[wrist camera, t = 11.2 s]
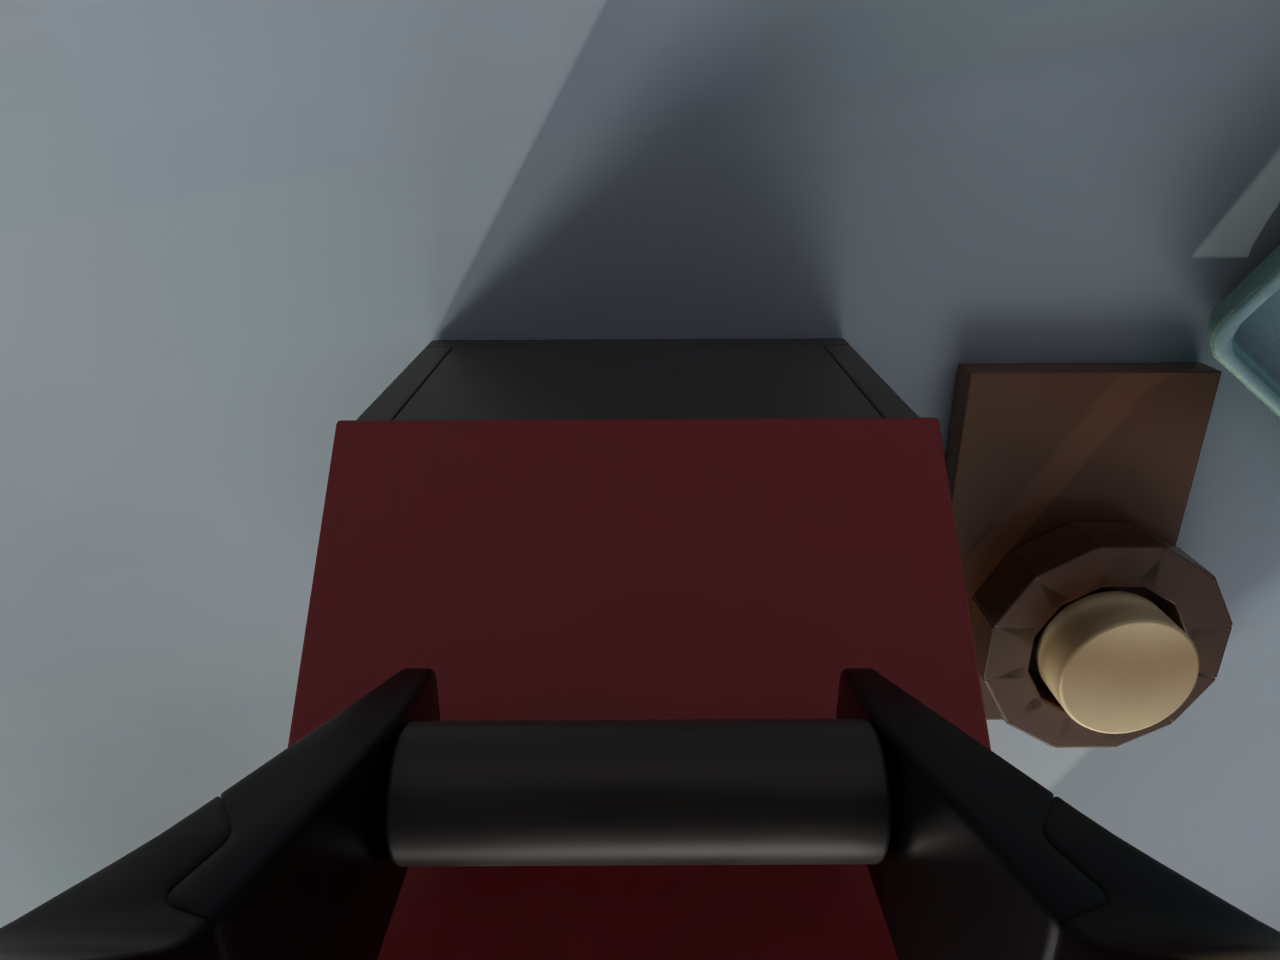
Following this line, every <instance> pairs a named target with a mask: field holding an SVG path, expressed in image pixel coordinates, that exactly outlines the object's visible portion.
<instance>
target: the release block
mask: <svg viewBox="0 0 1280 960" xmlns="http://www.w3.org/2000/svg"><path fill="white" fill-rule="evenodd" d="M1220 375H1221V371H1219V370H1216V369H1214V368H1212V367H1209V366H1207V365H1205V364H1202V363H1056V364H959V367H958V374H957V381H956V388H955V395H954V402H953V409H952V416H951V423H950V430H949V437H948V444H947V451H946V458H945V463H946V469H947V476H948V482H949V488H950V495H951V501H952V507H953V514H954V520H955V526H956V533H957V539H958V545H959V552H960V558H961V564H962V571H963V577H964V583H965V589H966V596H967V602H968V608H969V615H970V621H971V627H972V634H973V640H974V646H975V653H976V659H977V665H978V672H979V678H980V684H981V691H982V697H983V703H984V710H985V716H986V720H1004V721H1006V723H1007V724H1009V725H1011V726H1012V727H1014V728H1016V729H1018V730H1020V731H1022V732H1024V733H1026V734H1028V735H1030V736H1032V737H1034V738H1036V739H1038V740H1040V741H1042V742H1044V743H1046V744H1048V745H1050V746H1052V747H1053V746H1054V747H1056V748H1070V747H1117V746H1119V745H1121V744H1124V743H1126V742H1129V741H1131V740H1133V739H1136V738H1138V737H1140V736H1143V735H1145V734H1148V733H1150V732H1152V731H1155V730H1157V729H1160V728H1162V727H1164V726H1167V725H1169V724H1171V723H1172V722H1173V721H1175V720H1176V719H1177V718H1178V717H1179V716H1180V715H1181V714H1182V713H1183V712H1184V711H1185V710H1186V709H1187V708H1188V707H1189V706H1190V705H1191V704H1192V703H1193V702H1194V701H1195V700H1196V699H1197V698H1198V697H1199V696H1200V695H1201V694H1202V693H1203V692H1204V691H1205V690H1206V689H1207V688H1208V687H1209V686H1210V685H1211V684H1212V683H1213V682H1214V680H1215V678H1216V677H1217V674H1218V671H1219V668H1220V664H1221V661H1222V658H1223V654H1224V651H1225V648H1226V645H1227V641H1228V638H1229V635H1230V631H1231V628H1232V627H1231V626H1232V621H1231V618H1230V616H1229V613H1228V610H1227V608H1226V605H1225V602H1224V599H1223V597H1222V594H1221V591H1220V589H1219V586H1218V583H1217V580H1216V578H1215V577H1214V576H1213V574H1212V573H1210V572H1209V571H1208V570H1206V569H1205V568H1204V567H1203V566H1201V565H1200V564H1199V563H1198V562H1196V561H1195V560H1194V559H1192V558H1191V557H1190V556H1189V555H1187V554H1186V553H1185V552H1183V551H1182V550H1181V549H1180V548H1178V547H1176V542H1177V538H1178V534H1179V531H1180V527H1181V523H1182V519H1183V516H1184V512H1185V508H1186V504H1187V500H1188V497H1189V493H1190V489H1191V485H1192V481H1193V478H1194V474H1195V470H1196V466H1197V462H1198V459H1199V455H1200V451H1201V447H1202V444H1203V440H1204V436H1205V432H1206V428H1207V425H1208V421H1209V417H1210V413H1211V409H1212V406H1213V402H1214V398H1215V394H1216V391H1217V387H1218V383H1219V379H1220ZM1104 591H1124V592H1130V593H1134V594H1137V595H1140V596H1142V597H1145V598H1147V599H1148V600H1150V601H1151V602H1153V603H1154V604H1155V605H1156V606H1157V607H1158V608H1159V609H1160V610H1162V611H1163V612H1164V613H1165V614H1166V615H1167V616H1168V617H1169V618H1170V619H1171V620H1172V621H1173V622H1174V623H1176V624H1177V625H1178V626H1179V627H1180V628H1181V629H1182V630H1183V631H1184V632H1185V633H1186V634H1187V635H1188V636H1189V637H1190V638H1191V640H1192V641H1193V643H1194V645H1195V647H1196V649H1197V653H1198V656H1199V673H1198V678H1197V681H1196V683H1195V686H1194V688H1193V690H1192V692H1191V693H1190V695H1189V696H1188V698H1187V699H1186V700H1185V702H1184V703H1183V704H1182V705H1181V706H1180V707H1179V708H1178V709H1177V710H1176V711H1175V712H1173V713H1172V714H1171V715H1169V716H1168V717H1167V718H1165V719H1163V720H1162V721H1160V722H1158V723H1156V724H1154V725H1152V726H1150V727H1147V728H1144V729H1142V730H1138V731H1134V732H1129V733H1119V734H1111V733H1102V732H1097V731H1094V730H1090V729H1088V728H1086V727H1084V726H1082V725H1080V724H1078V723H1077V722H1075V721H1074V720H1073V719H1072V718H1071V717H1070V716H1069V715H1068V714H1067V713H1066V711H1065V710H1064V709H1063V707H1062V706H1061V705H1060V703H1059V702H1058V700H1057V699H1056V698H1055V696H1054V695H1053V694H1052V692H1051V691H1050V689H1049V688H1048V687H1047V685H1046V684H1045V683H1044V681H1043V679H1042V678H1041V676H1040V674H1039V671H1038V668H1037V663H1036V651H1037V645H1038V642H1039V639H1040V636H1041V634H1042V632H1043V630H1044V629H1045V627H1046V626H1047V624H1048V623H1049V622H1050V620H1051V619H1052V618H1053V617H1054V616H1055V615H1056V614H1057V613H1058V612H1059V611H1061V610H1062V609H1063V608H1064V607H1066V606H1067V605H1069V604H1071V603H1072V602H1074V601H1076V600H1078V599H1080V598H1082V597H1085V596H1087V595H1091V594H1094V593H1099V592H1104Z"/></svg>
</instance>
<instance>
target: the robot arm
mask: <svg viewBox="0 0 1280 960" xmlns="http://www.w3.org/2000/svg"><path fill="white" fill-rule="evenodd" d="M856 718H862V719H865V720H868V721H869V722H871V723H872V725H873V726H874V728H875V729H876V732H877V734H878V736H879V739H880V742H881V744H882V748H883V751H884V755H885V759H886V764H887V769H888V775H889V783H890V792H891V812H892V816H891V834H890V841H889V847H888V851H887V854H886V857H885V858H884V860H883V861H882V862H880V863H878V864H866V865H867V868H868V871H869V874H870V877H871V880H872V883H873V886H874V889H875V892H876V895H877V898H878V901H879V904H880V907H881V910H882V913H883V916H884V919H885V922H886V925H887V928H888V931H889V934H890V937H891V940H892V943H893V946H894V949H895V952H896V955H897V958H898V960H1280V932H1279V931H1277V930H1275V929H1273V928H1271V927H1269V926H1267V925H1266V924H1264V923H1262V922H1260V921H1258V920H1257V919H1255V918H1253V917H1251V916H1250V915H1248V914H1246V913H1245V912H1243V911H1241V910H1240V909H1238V908H1236V907H1234V906H1233V905H1231V904H1229V903H1228V902H1226V901H1224V900H1223V899H1221V898H1219V897H1217V896H1216V895H1214V894H1212V893H1211V892H1209V891H1207V890H1206V889H1204V888H1202V887H1200V886H1199V885H1197V884H1195V883H1194V882H1192V881H1190V880H1189V879H1187V878H1185V877H1184V876H1182V875H1180V874H1178V873H1177V872H1175V871H1173V870H1172V869H1170V868H1168V867H1167V866H1165V865H1163V864H1161V863H1160V862H1158V861H1156V860H1155V859H1153V858H1151V857H1150V856H1148V855H1147V854H1145V853H1143V852H1142V851H1140V850H1138V849H1137V848H1135V847H1133V846H1132V845H1130V844H1128V843H1127V842H1125V841H1124V840H1122V839H1120V838H1119V837H1117V836H1115V835H1114V834H1112V833H1111V832H1109V831H1108V830H1106V829H1105V828H1103V827H1102V826H1100V825H1099V824H1097V823H1096V822H1094V821H1093V820H1091V819H1090V818H1088V817H1087V816H1085V815H1084V814H1082V813H1081V812H1079V811H1078V810H1076V809H1075V808H1073V807H1072V806H1071V805H1069V804H1068V803H1066V802H1065V801H1063V800H1062V799H1060V798H1059V797H1054V795H1053V793H1052V792H1050V791H1049V790H1047V789H1046V788H1044V787H1043V786H1041V785H1040V784H1039V783H1037V782H1036V781H1034V780H1033V779H1031V778H1030V777H1028V776H1027V775H1026V774H1024V773H1023V772H1021V771H1020V770H1018V769H1017V768H1015V767H1014V766H1012V765H1011V764H1010V763H1008V762H1007V761H1005V760H1004V759H1002V758H1001V757H999V756H998V755H997V754H995V753H994V752H992V751H991V750H989V749H988V748H986V747H985V746H984V745H982V744H981V743H979V742H978V741H976V740H975V739H973V738H972V737H971V736H969V735H968V734H966V733H965V732H963V731H962V730H960V729H959V728H958V727H956V726H955V725H953V724H952V723H950V722H949V721H947V720H946V719H945V718H943V717H942V716H940V715H939V714H937V713H936V712H934V711H933V710H932V709H930V708H929V707H927V706H926V705H924V704H923V703H921V702H920V701H919V700H917V699H916V698H914V697H913V696H911V695H910V694H908V693H907V692H906V691H904V690H903V689H901V688H900V687H898V686H897V685H895V684H894V683H893V682H891V681H890V680H888V679H887V678H885V677H884V676H882V675H881V674H880V673H878V672H877V671H875V670H873V669H871V668H846V669H844V670H843V671H842V672H841V675H840V680H839V690H838V701H837V711H836V719H856ZM411 721H440V710H439V699H438V689H437V679H436V674H435V672H434V671H433V670H432V669H430V668H405V669H403V670H401V671H399V672H398V673H396V674H395V675H394V676H392V677H391V678H389V679H388V680H386V681H385V682H383V683H382V684H380V685H379V686H378V687H376V688H375V689H373V690H372V691H370V692H369V693H367V694H366V695H364V696H363V697H361V698H360V699H359V700H357V701H356V702H354V703H353V704H351V705H350V706H348V707H347V708H345V709H344V710H343V711H341V712H340V713H338V714H337V715H335V716H334V717H332V718H331V719H329V720H328V721H327V722H325V723H324V724H322V725H321V726H319V727H318V728H316V729H315V730H313V731H312V732H310V733H309V734H308V735H306V736H305V737H303V738H302V739H300V740H299V741H297V742H296V743H294V744H293V745H292V746H290V747H289V748H287V749H286V750H284V751H283V752H281V753H280V754H278V755H277V756H276V757H274V758H273V759H271V760H270V761H268V762H267V763H265V764H264V765H262V766H261V767H259V768H258V769H257V770H255V771H254V772H252V773H251V774H249V775H248V776H246V777H245V778H243V779H242V780H240V781H239V782H238V783H236V784H235V785H233V786H232V787H230V788H229V789H227V790H226V791H224V792H223V793H222V794H221V798H220V797H215V798H214V799H213V800H211V801H210V802H208V803H207V804H205V805H204V806H202V807H201V808H199V809H198V810H197V811H195V812H194V813H192V814H191V815H189V816H188V817H186V818H184V819H183V820H181V821H180V822H178V823H177V824H175V825H174V826H172V827H171V828H169V829H168V830H166V831H165V832H163V833H162V834H160V835H159V836H157V837H155V838H154V839H152V840H150V841H149V842H147V843H146V844H144V845H142V846H141V847H139V848H137V849H136V850H134V851H132V852H131V853H129V854H127V855H126V856H124V857H122V858H121V859H119V860H117V861H116V862H114V863H112V864H111V865H109V866H107V867H105V868H104V869H102V870H100V871H99V872H97V873H95V874H93V875H92V876H90V877H88V878H87V879H85V880H83V881H82V882H80V883H78V884H76V885H75V886H73V887H71V888H70V889H68V890H66V891H64V892H63V893H61V894H59V895H58V896H56V897H54V898H52V899H51V900H49V901H47V902H46V903H44V904H42V905H40V906H39V907H37V908H35V909H34V910H32V911H30V912H29V913H27V914H25V915H23V916H22V917H20V918H18V919H17V920H15V921H13V922H11V923H9V924H7V925H6V926H4V927H2V928H0V960H377V958H378V955H379V952H380V950H381V947H382V944H383V941H384V938H385V935H386V932H387V929H388V926H389V923H390V920H391V917H392V914H393V911H394V908H395V905H396V902H397V899H398V896H399V893H400V890H401V888H402V885H403V882H404V879H405V876H406V873H407V870H408V867H402V866H399V865H396V864H395V863H394V862H393V861H392V859H391V857H390V854H389V850H388V845H387V840H386V831H385V798H386V787H387V779H388V772H389V767H390V762H391V758H392V753H393V750H394V747H395V744H396V741H397V738H398V736H399V734H400V732H401V730H402V728H403V727H404V726H405V725H406V724H407V723H409V722H411Z"/></svg>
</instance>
